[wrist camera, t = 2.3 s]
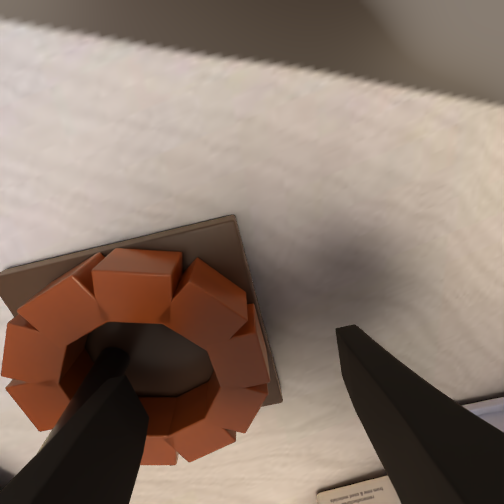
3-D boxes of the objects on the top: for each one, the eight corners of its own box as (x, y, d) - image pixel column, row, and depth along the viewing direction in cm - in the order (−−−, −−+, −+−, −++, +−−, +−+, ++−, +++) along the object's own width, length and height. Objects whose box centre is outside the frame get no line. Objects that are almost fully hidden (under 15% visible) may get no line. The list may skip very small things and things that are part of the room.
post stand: (234, 213, 10) (233, 277, 6) (281, 388, 14) (303, 517, 9) (4, 269, 11) (-176, 371, 6) (105, 425, 14) (40, 567, 9)
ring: (231, 219, 9) (230, 237, 8) (281, 403, 13) (287, 443, 11) (-11, 278, 10) (-61, 306, 8) (100, 441, 13) (81, 485, 12)
